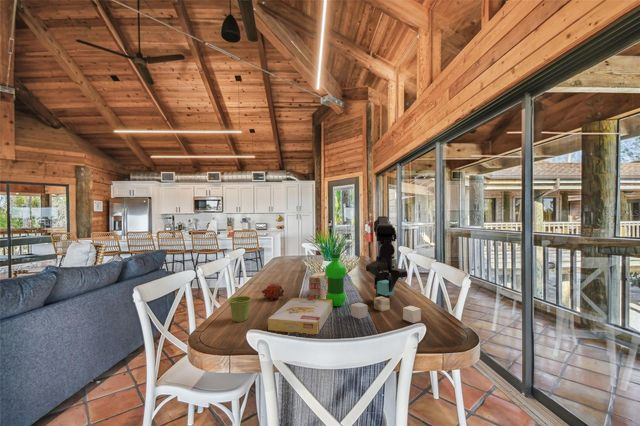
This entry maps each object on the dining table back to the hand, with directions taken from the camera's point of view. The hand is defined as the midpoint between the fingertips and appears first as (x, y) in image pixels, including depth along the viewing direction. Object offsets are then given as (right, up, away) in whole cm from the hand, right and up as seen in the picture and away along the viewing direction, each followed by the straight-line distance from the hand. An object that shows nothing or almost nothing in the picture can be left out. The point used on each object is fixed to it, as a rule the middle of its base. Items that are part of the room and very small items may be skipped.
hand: (385, 290), depth 122 cm
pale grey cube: (-11, -12, +2) cm, 16 cm away
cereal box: (-35, -13, -1) cm, 38 cm away
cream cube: (+10, -12, -3) cm, 16 cm away
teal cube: (0, -1, 0) cm, 1 cm away
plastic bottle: (-20, -12, +18) cm, 29 cm away
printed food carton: (-28, -12, +35) cm, 46 cm away
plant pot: (-62, -12, -1) cm, 63 cm away
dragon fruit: (-53, -12, +28) cm, 61 cm away
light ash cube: (+1, -12, +11) cm, 16 cm away
